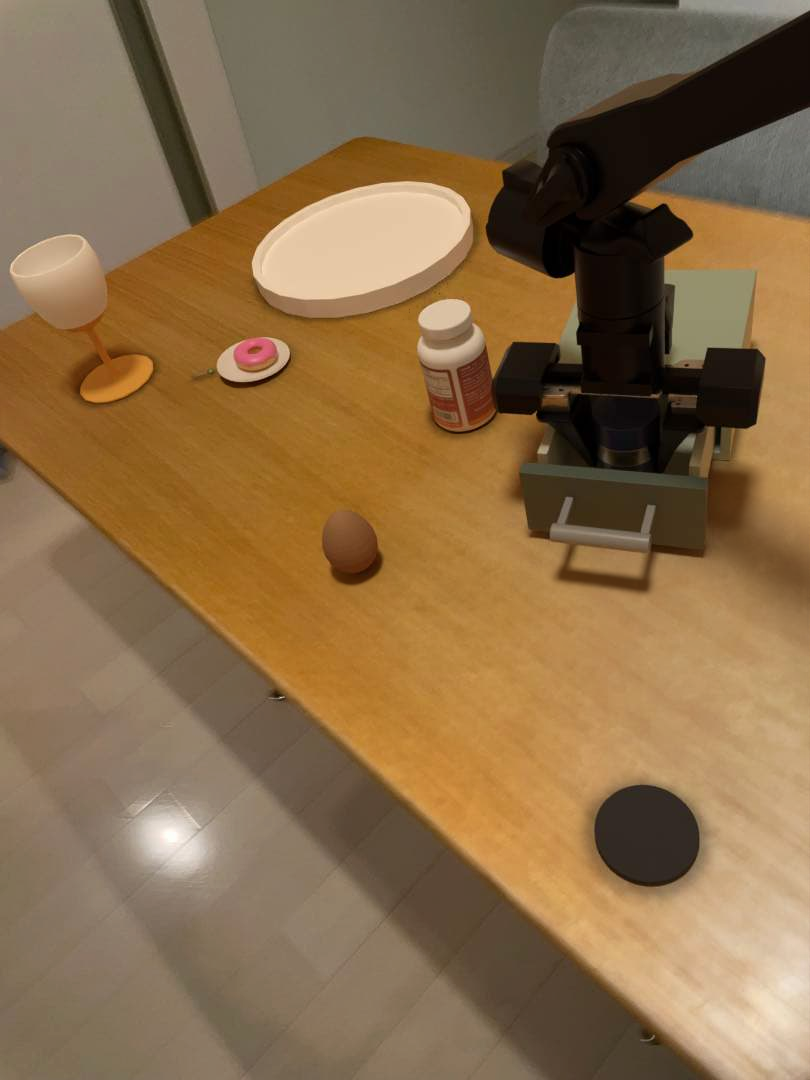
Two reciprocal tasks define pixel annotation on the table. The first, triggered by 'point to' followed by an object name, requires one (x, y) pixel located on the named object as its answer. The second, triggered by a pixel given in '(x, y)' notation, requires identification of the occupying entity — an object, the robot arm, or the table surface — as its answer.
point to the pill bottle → (455, 366)
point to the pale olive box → (697, 323)
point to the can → (626, 433)
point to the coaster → (646, 835)
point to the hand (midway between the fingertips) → (627, 466)
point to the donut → (253, 359)
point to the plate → (363, 249)
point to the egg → (349, 542)
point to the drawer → (619, 496)
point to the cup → (77, 308)
